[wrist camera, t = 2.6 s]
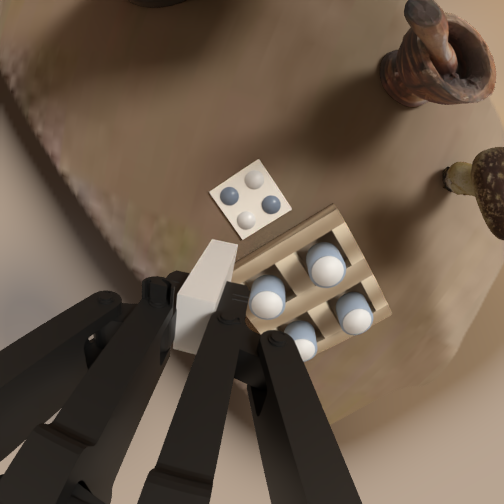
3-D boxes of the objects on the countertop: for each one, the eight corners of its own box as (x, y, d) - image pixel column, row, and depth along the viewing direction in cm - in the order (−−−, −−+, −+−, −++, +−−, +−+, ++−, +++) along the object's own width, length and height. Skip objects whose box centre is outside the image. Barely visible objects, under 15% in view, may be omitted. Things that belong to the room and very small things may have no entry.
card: (209, 191, 36) (208, 192, 35) (258, 158, 34) (258, 158, 34) (242, 239, 38) (242, 240, 37) (291, 208, 36) (291, 209, 35)
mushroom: (480, 200, 33) (552, 233, 19) (433, 219, 34) (500, 264, 20) (466, 133, 30) (544, 140, 16) (415, 149, 32) (488, 160, 18)
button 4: (330, 302, 36) (334, 318, 33) (358, 286, 35) (365, 301, 32) (343, 324, 37) (349, 341, 34) (371, 309, 36) (378, 325, 33)
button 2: (299, 253, 35) (301, 266, 31) (329, 235, 34) (335, 246, 30) (316, 280, 36) (320, 295, 32) (346, 263, 35) (352, 277, 31)
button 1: (244, 284, 37) (241, 300, 33) (273, 268, 36) (272, 282, 32) (263, 309, 38) (261, 326, 34) (291, 294, 36) (292, 310, 33)
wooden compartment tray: (222, 269, 39) (218, 280, 36) (332, 203, 35) (337, 208, 32) (287, 354, 43) (287, 367, 40) (386, 302, 39) (392, 313, 36)
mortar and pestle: (366, 124, 31) (458, 113, 13) (338, 57, 29) (398, -20, 10) (443, 104, 29) (557, 94, 10) (418, 41, 26) (514, -11, 8)
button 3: (278, 329, 38) (277, 346, 35) (305, 315, 37) (307, 332, 34) (293, 349, 39) (294, 367, 36) (320, 336, 38) (323, 354, 35)
